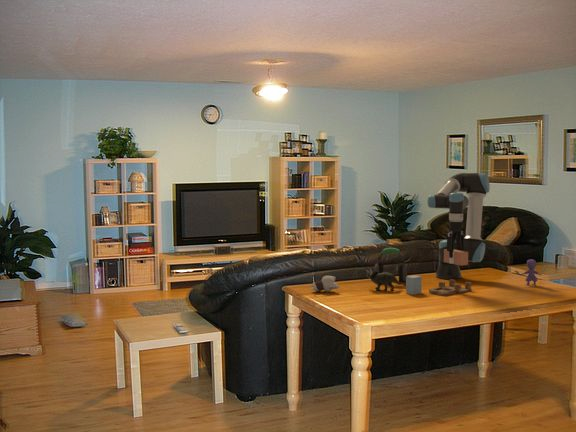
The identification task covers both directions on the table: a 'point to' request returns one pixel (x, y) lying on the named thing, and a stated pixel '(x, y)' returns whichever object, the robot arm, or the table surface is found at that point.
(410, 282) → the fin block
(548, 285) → the table surface
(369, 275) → the dinosaur figurine
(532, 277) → the toy
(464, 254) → the pink slab with ridge
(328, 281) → the toy
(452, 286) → the jig
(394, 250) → the headphones
